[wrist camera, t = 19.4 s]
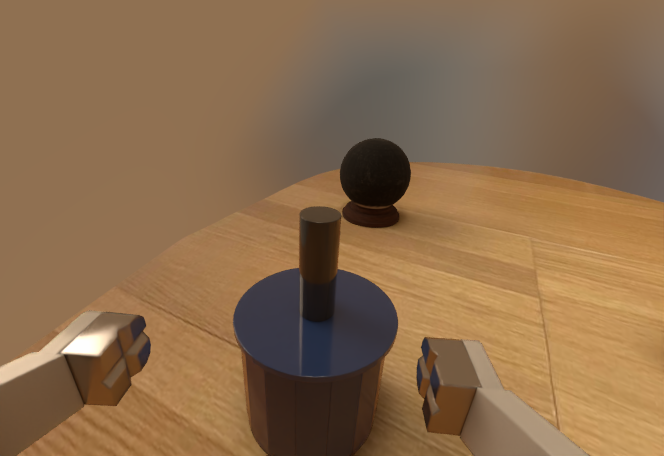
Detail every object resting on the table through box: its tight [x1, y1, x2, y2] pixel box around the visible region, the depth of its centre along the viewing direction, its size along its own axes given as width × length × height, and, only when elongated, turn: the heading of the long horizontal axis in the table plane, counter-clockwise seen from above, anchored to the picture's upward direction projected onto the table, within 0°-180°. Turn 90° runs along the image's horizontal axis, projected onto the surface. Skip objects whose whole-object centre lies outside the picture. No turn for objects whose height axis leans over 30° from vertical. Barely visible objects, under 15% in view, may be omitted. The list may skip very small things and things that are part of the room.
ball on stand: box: [340, 138, 411, 228], centre depth 62 cm, size 13×13×15 cm
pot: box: [241, 350, 385, 456], centre depth 26 cm, size 11×11×10 cm
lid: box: [233, 207, 398, 383], centre depth 22 cm, size 12×12×9 cm
